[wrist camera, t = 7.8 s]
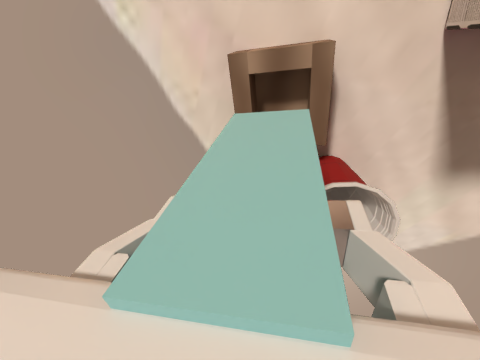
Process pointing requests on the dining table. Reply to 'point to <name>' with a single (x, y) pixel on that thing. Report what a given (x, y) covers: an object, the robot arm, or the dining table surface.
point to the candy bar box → (464, 15)
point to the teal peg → (246, 239)
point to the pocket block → (285, 81)
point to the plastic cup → (360, 195)
